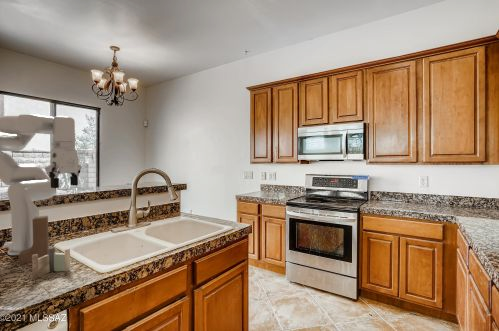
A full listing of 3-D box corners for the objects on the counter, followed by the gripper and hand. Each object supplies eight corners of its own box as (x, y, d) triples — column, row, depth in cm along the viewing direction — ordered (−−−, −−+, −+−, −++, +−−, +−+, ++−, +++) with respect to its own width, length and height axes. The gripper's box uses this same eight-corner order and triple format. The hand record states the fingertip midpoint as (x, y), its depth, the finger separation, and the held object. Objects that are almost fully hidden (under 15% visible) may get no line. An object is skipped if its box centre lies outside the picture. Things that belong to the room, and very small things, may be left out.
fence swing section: (53, 271, 95) (52, 249, 95) (57, 269, 96) (56, 247, 96) (68, 271, 94) (67, 250, 94) (71, 269, 96) (70, 248, 96)
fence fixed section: (36, 281, 89) (35, 255, 88) (30, 281, 89) (30, 255, 89) (56, 271, 97) (55, 247, 96) (51, 270, 97) (51, 247, 97)
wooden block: (18, 265, 101) (17, 220, 101) (21, 262, 105) (20, 218, 104) (47, 261, 106) (46, 217, 105) (49, 257, 110) (48, 215, 109)
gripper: (54, 145, 100) (55, 189, 101) (87, 146, 117) (88, 184, 118) (37, 145, 101) (37, 188, 102) (72, 146, 118) (73, 184, 119)
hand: (64, 186), depth 110 cm, fingers open, 9 cm apart
